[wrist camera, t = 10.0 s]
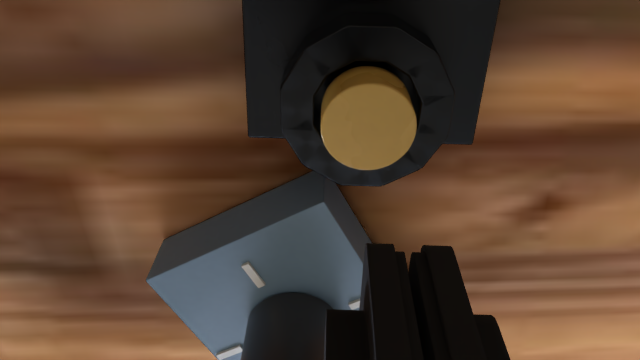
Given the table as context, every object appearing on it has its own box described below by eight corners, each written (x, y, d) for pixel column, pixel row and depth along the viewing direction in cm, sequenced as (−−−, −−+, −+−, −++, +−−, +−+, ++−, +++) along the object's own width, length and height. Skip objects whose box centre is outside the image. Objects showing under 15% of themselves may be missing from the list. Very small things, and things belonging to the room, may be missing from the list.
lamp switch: (322, 63, 18) (321, 81, 17) (415, 66, 18) (423, 84, 17) (320, 146, 20) (319, 169, 19) (405, 149, 20) (411, 172, 19)
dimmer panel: (163, 239, 26) (144, 283, 24) (324, 165, 24) (323, 203, 21) (277, 373, 31) (272, 422, 28) (420, 322, 29) (430, 370, 26)
